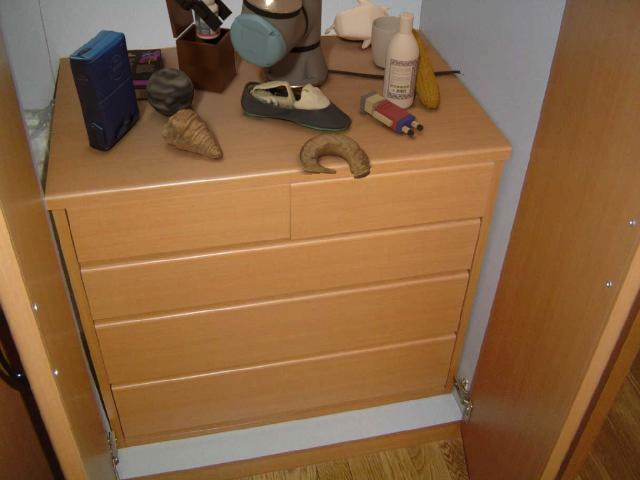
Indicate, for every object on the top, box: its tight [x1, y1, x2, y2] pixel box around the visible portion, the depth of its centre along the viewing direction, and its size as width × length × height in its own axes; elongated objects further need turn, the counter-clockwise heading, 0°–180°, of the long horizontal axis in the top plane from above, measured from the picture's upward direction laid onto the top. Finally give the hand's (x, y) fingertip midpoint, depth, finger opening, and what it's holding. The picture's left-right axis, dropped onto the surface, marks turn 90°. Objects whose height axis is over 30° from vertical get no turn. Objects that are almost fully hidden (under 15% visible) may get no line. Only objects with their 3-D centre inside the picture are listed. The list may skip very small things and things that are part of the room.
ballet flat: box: [240, 81, 352, 132], centre depth 139 cm, size 8×24×8 cm, turn 72°
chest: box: [175, 23, 237, 94], centre depth 150 cm, size 10×9×11 cm
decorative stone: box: [146, 67, 196, 117], centre depth 140 cm, size 10×10×10 cm
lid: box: [165, 0, 195, 39], centre depth 144 cm, size 11×9×1 cm
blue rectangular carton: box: [68, 29, 140, 152], centre depth 129 cm, size 14×5×20 cm, turn 164°
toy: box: [359, 90, 425, 137], centre depth 141 cm, size 6×4×15 cm
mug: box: [370, 15, 399, 69], centre depth 158 cm, size 13×9×10 cm
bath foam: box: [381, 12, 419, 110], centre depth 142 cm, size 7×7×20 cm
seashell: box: [160, 109, 222, 159], centre depth 131 cm, size 14×8×8 cm
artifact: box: [299, 132, 372, 180], centre depth 129 cm, size 12×3×15 cm
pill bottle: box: [193, 0, 221, 39], centre depth 144 cm, size 5×5×9 cm
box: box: [127, 48, 163, 100], centre depth 153 cm, size 14×4×20 cm
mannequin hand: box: [324, 0, 391, 50], centre depth 169 cm, size 12×18×12 cm
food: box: [412, 27, 441, 110], centre depth 148 cm, size 21×6×6 cm
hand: (223, 22), depth 144 cm, fingers closed on pill bottle, 5 cm apart
